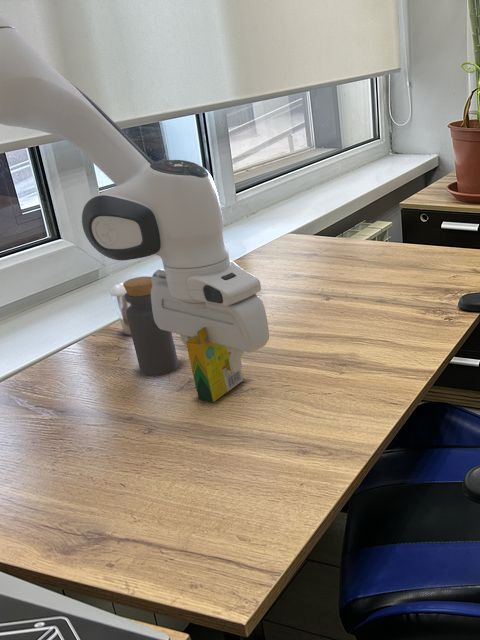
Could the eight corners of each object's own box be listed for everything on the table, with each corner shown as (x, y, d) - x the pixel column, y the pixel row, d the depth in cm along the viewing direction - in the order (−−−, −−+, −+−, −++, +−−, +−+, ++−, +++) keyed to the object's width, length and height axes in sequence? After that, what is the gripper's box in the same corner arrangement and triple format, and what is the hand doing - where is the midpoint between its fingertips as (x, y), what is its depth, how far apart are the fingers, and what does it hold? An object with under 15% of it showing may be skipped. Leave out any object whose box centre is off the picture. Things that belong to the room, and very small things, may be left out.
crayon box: (228, 378, 112) (216, 309, 107) (244, 380, 111) (232, 312, 106) (197, 400, 105) (181, 328, 100) (213, 403, 104) (198, 331, 99)
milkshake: (133, 339, 126) (120, 286, 121) (115, 333, 128) (101, 281, 124) (155, 330, 129) (143, 278, 125) (137, 324, 132) (125, 273, 127)
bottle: (184, 367, 115) (166, 280, 109) (149, 379, 112) (127, 290, 105) (169, 356, 119) (150, 272, 113) (134, 368, 115) (113, 281, 109)
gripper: (131, 274, 102) (152, 359, 108) (235, 296, 93) (251, 388, 99) (167, 261, 107) (184, 343, 113) (269, 281, 98) (282, 370, 104)
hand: (216, 364), depth 106 cm, fingers open, 6 cm apart
